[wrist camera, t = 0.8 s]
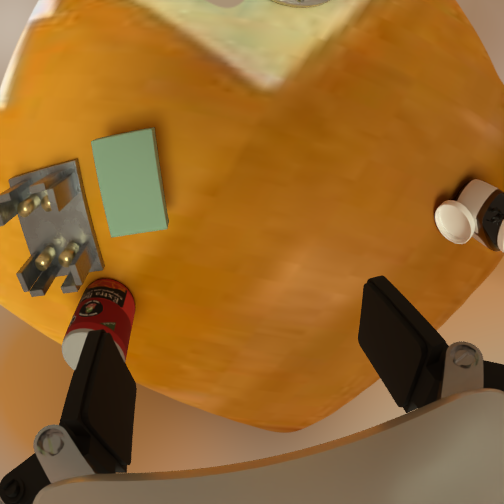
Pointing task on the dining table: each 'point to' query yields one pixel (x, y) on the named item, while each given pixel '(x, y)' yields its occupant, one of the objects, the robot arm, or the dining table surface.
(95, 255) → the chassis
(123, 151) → the board
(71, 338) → the canned food
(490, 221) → the spice jar
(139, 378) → the dining table surface
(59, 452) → the robot arm
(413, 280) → the dining table surface
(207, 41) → the dining table surface
